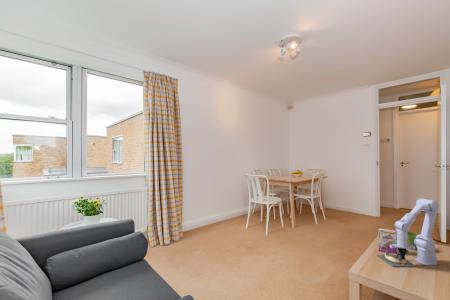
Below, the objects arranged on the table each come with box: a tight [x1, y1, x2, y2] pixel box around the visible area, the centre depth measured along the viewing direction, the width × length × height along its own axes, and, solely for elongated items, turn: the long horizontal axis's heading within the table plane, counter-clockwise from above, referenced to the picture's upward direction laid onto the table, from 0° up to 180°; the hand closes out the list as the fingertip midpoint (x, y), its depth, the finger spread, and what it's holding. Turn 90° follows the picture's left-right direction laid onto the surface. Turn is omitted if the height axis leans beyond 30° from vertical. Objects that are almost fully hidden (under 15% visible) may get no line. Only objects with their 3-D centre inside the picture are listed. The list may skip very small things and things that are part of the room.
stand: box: [376, 254, 416, 268], centre depth 149 cm, size 15×15×1 cm
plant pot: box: [408, 230, 420, 251], centre depth 168 cm, size 12×12×11 cm
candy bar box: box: [377, 227, 398, 254], centre depth 163 cm, size 11×5×16 cm, turn 58°
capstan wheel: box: [384, 248, 407, 264], centre depth 149 cm, size 12×12×6 cm
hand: (402, 258), depth 144 cm, fingers closed, pressing on capstan wheel
